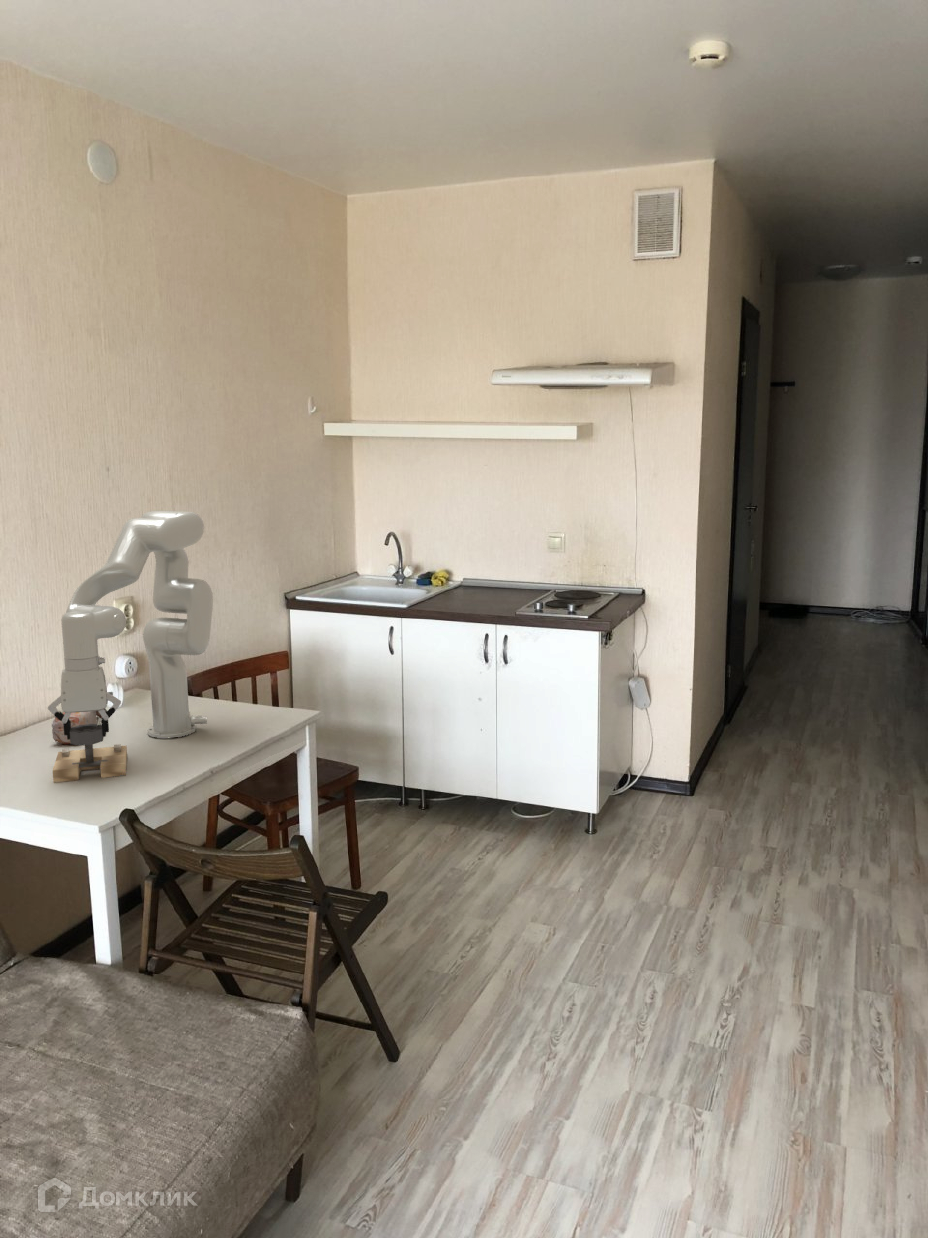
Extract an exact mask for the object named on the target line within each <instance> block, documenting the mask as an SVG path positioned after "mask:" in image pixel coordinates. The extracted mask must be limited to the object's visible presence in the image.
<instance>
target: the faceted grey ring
mask: <svg viewBox="0 0 928 1238" xmlns="http://www.w3.org/2000/svg"><path fill="white" fill-rule="evenodd" d="M85 729H91V731H83V730H85ZM104 739H105V737H103V734H102V724H98V723H97V724H85V725H79V726H76V727H72V728H71V730H70V744H74V746H85V745H93V746H94V745H95V744H98V743H99V744H100V743H101V742H104Z"/></svg>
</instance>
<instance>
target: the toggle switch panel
mask: <svg viewBox="0 0 928 1238" xmlns="http://www.w3.org/2000/svg"><path fill="white" fill-rule="evenodd" d="M83 731H91V729H85V730H83ZM127 764H128V747H127V745H122V744H120V743H119V744H113V746H108V747H98V748H97V747H96V748H94V744H93V745H84V748H83V749H74V750H70V749H69V748H65V749H61V751H58V752H57V754H56V759H55V762H54V765H53V767H52V777H53V783H61V782H63V783H64V782H71V781H79V779H80V776H81V772H82V771H86V770H87V771H88V770H96V769H97V770H99V769H100V777H101V779H102V778H103V779H104V778H109V777H110V778H111V777H112V778H114V777H121V776H120V775H124V776H126V775H127V767H126V766H128V765H127ZM98 768H99V769H98ZM113 776H114V777H113Z"/></svg>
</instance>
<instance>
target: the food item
mask: <svg viewBox="0 0 928 1238" xmlns="http://www.w3.org/2000/svg"><path fill="white" fill-rule="evenodd" d="M62 713H63V714H65V712H64V711H62ZM97 717H98V716H96V711H89V712H75V713H71V715H70V717H69V720H70V721H71V728H72V727H76V726H79V725H85V724H98V720H97ZM51 727H52V729H51V733H52V739H53V740H54V742H57V743H58V744H63V745H71V746H72V745H74V744H70V740H67V735H65V736H64V726H63V723H62V721H60V720H59V719H58V718H56V717H55V716H54V719H53V720H52V723H51ZM74 746H75V745H74Z"/></svg>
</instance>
